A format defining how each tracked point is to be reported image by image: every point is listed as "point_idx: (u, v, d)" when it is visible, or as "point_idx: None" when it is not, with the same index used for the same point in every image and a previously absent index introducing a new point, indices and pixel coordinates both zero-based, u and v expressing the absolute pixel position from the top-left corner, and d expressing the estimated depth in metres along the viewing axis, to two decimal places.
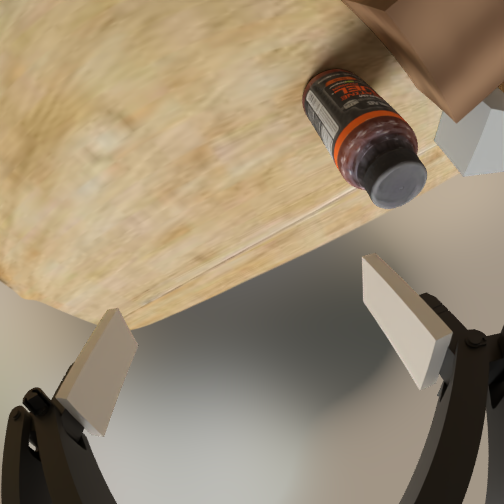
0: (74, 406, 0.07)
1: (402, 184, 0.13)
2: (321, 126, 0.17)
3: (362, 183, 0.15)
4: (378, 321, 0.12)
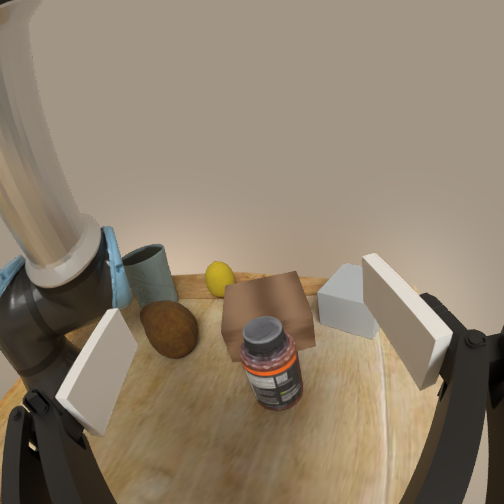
0: (74, 406, 0.07)
1: (260, 327, 0.26)
2: (252, 384, 0.27)
3: (261, 355, 0.24)
4: (379, 321, 0.12)
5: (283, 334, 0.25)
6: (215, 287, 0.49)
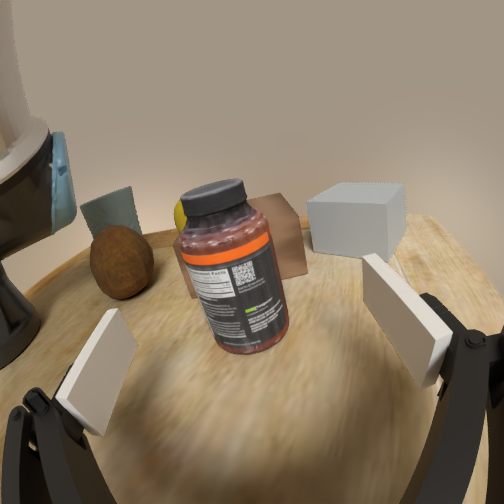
0: (74, 406, 0.07)
1: (208, 186, 0.16)
2: (199, 295, 0.17)
3: (206, 223, 0.15)
4: (379, 321, 0.12)
5: (244, 194, 0.16)
6: (184, 224, 0.40)
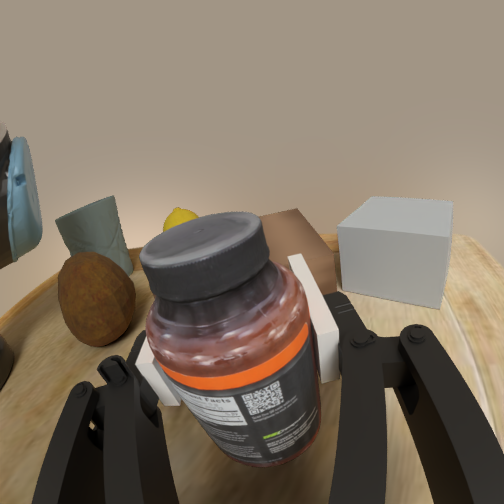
0: (157, 371, 0.09)
1: (193, 230, 0.09)
2: (188, 407, 0.09)
3: (190, 316, 0.07)
4: None
5: (265, 249, 0.08)
6: None
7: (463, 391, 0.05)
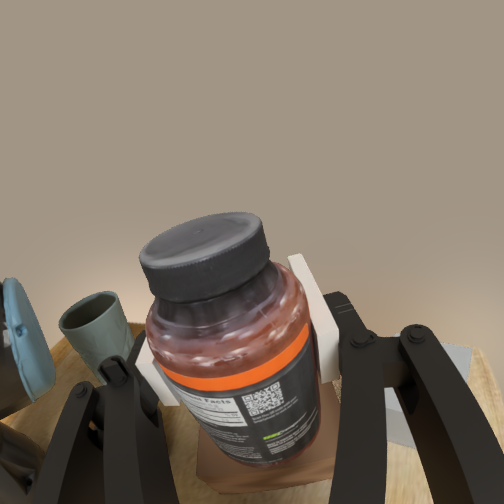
0: (157, 371, 0.09)
1: (193, 230, 0.08)
2: (188, 408, 0.09)
3: (189, 317, 0.07)
4: None
5: (265, 250, 0.08)
6: None
7: (463, 392, 0.05)
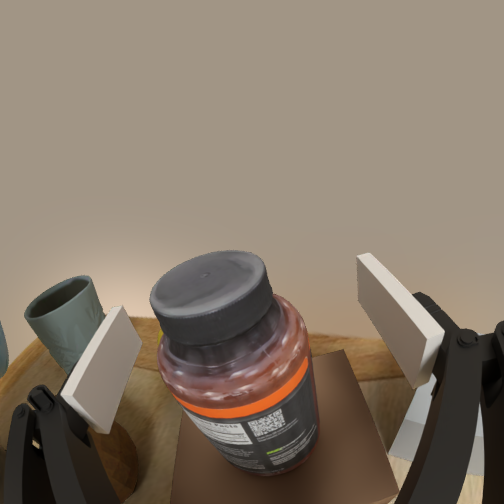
0: (80, 403, 0.08)
1: (200, 273, 0.09)
2: None
3: (200, 358, 0.08)
4: (373, 320, 0.12)
5: (268, 294, 0.08)
6: None
7: None
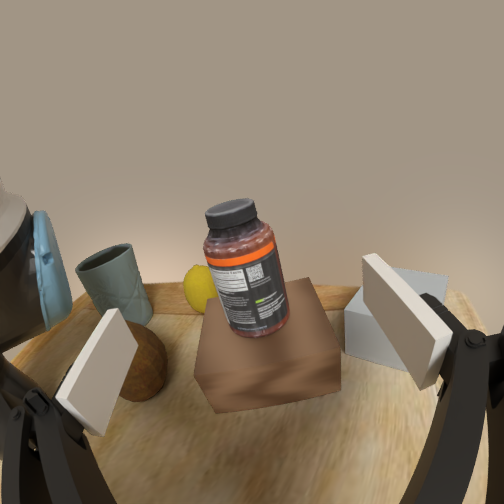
0: (74, 406, 0.07)
1: (227, 205, 0.21)
2: (219, 290, 0.22)
3: (226, 235, 0.20)
4: (379, 321, 0.12)
5: (255, 211, 0.21)
6: (196, 301, 0.35)
7: None
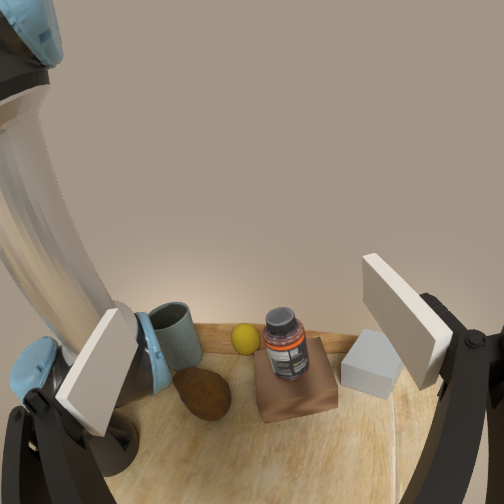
0: (74, 406, 0.07)
1: (278, 314, 0.36)
2: (272, 358, 0.37)
3: (280, 334, 0.35)
4: (379, 321, 0.12)
5: (295, 319, 0.36)
6: (242, 348, 0.50)
7: None
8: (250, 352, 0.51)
